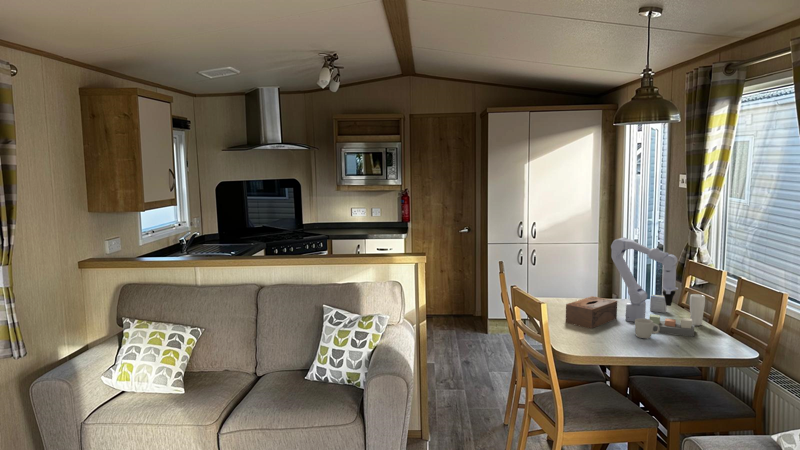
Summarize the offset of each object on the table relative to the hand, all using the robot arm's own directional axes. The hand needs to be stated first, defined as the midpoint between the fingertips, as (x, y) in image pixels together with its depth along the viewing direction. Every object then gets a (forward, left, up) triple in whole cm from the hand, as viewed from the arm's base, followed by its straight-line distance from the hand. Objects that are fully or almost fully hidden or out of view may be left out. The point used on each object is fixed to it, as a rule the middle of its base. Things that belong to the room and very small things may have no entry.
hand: (668, 305), depth 285 cm
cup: (-7, -26, -11) cm, 29 cm away
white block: (+9, -9, -8) cm, 15 cm away
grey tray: (+2, -9, -10) cm, 14 cm away
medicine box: (-6, +28, -11) cm, 31 cm away
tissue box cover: (-36, -9, -11) cm, 38 cm away
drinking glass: (+13, +9, -11) cm, 19 cm away
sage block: (-5, -9, -8) cm, 13 cm away
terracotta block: (+2, -9, -9) cm, 13 cm away
